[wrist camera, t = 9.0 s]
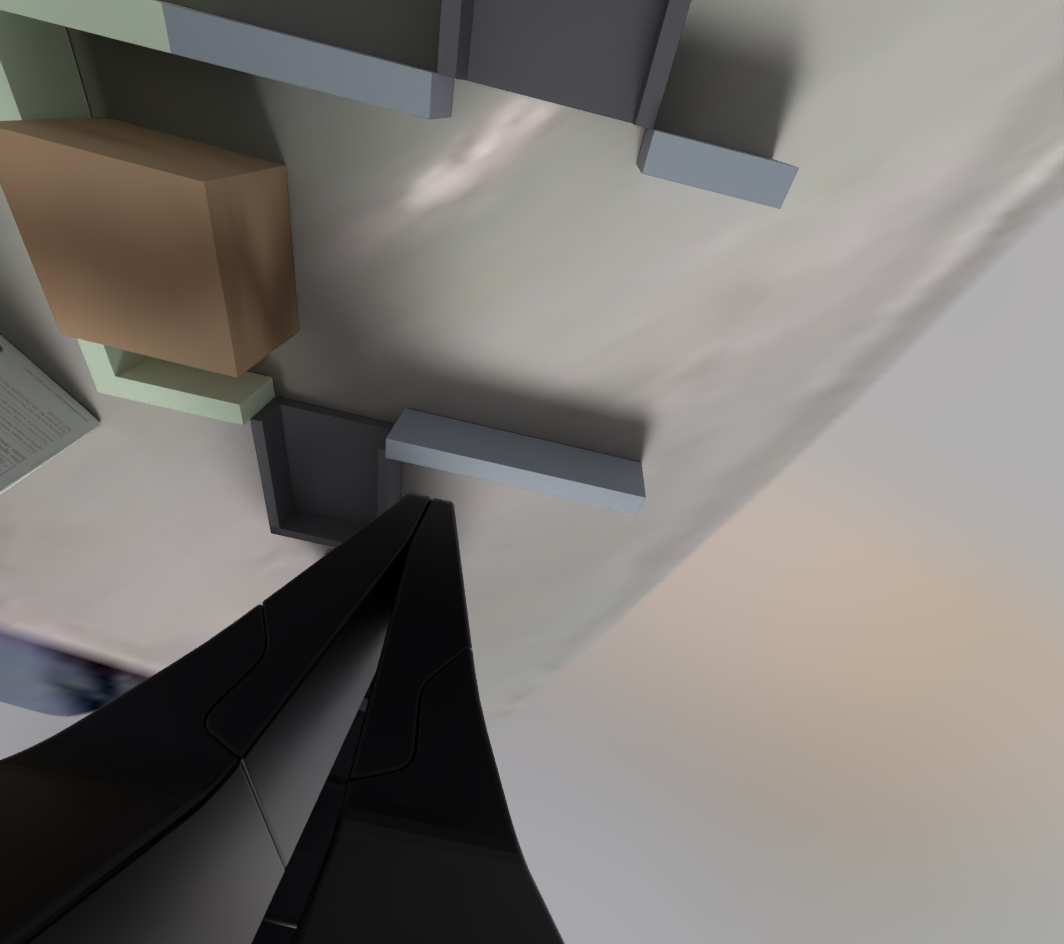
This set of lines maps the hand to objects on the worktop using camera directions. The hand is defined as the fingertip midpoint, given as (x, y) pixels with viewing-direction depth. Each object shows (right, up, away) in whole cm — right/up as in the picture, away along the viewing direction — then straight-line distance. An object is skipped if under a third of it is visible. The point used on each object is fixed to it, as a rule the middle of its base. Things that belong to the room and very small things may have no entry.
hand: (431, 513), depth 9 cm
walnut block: (-10, +10, +9) cm, 17 cm away
